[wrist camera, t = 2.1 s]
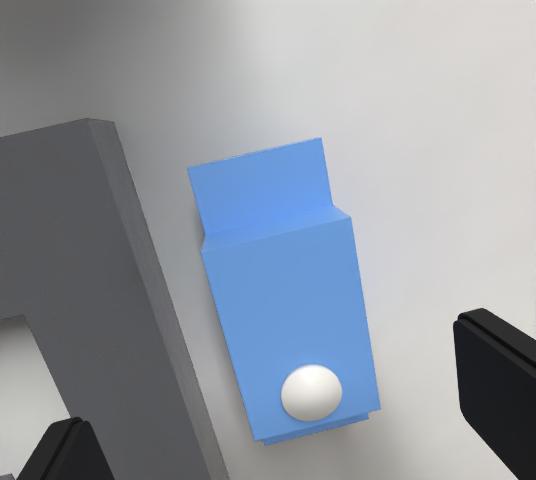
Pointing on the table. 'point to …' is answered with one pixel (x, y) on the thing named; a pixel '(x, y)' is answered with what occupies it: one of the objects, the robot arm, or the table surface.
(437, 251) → the table surface
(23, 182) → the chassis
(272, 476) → the table surface
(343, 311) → the servo
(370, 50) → the table surface
